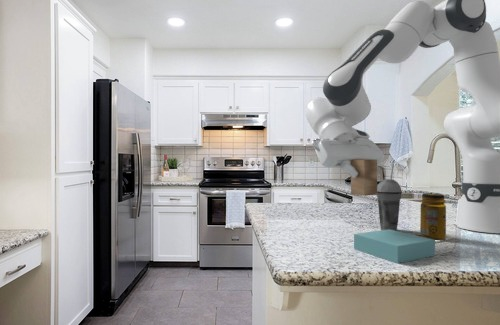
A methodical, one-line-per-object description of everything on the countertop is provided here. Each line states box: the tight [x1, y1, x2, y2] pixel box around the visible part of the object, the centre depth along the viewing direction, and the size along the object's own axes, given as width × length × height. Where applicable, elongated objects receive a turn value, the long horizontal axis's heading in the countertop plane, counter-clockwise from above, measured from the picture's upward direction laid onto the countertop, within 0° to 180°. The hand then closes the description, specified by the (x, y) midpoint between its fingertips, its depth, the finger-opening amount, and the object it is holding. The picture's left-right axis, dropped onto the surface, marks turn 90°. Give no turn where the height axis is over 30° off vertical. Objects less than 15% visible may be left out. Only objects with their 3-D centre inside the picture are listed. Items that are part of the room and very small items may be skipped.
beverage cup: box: [376, 164, 403, 231], centre depth 96 cm, size 7×7×20 cm
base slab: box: [353, 229, 436, 264], centre depth 72 cm, size 12×12×4 cm
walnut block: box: [350, 159, 378, 197], centre depth 81 cm, size 4×4×9 cm
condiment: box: [415, 193, 453, 244], centre depth 86 cm, size 7×8×12 cm
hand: (365, 175), depth 81 cm, fingers closed on walnut block, 4 cm apart
